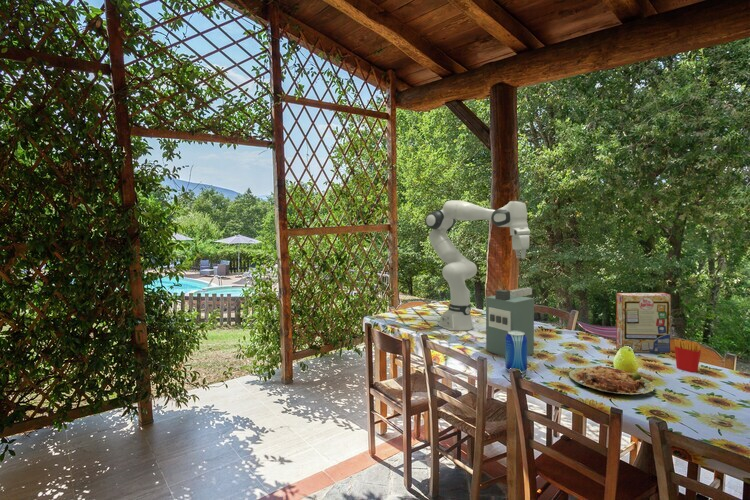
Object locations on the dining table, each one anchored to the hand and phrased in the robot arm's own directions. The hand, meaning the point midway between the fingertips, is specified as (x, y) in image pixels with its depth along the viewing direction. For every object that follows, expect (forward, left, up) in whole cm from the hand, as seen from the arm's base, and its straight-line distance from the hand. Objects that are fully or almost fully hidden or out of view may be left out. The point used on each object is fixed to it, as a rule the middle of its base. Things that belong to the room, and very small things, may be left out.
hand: (521, 258), depth 197 cm
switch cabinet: (+9, -21, -43) cm, 48 cm away
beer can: (+25, -38, -43) cm, 62 cm away
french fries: (+65, +17, -43) cm, 80 cm away
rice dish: (+53, -20, -43) cm, 71 cm away
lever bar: (+9, -17, -17) cm, 25 cm away
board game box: (+45, +28, -43) cm, 68 cm away
